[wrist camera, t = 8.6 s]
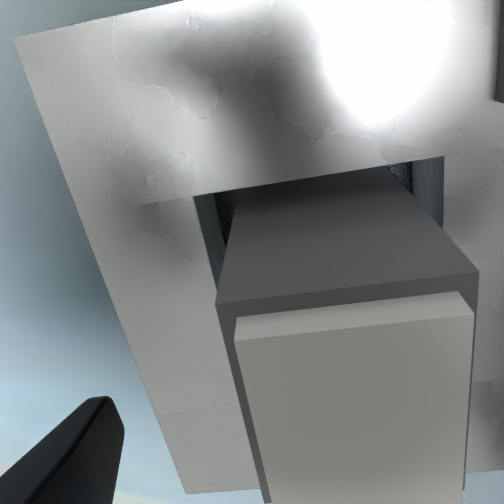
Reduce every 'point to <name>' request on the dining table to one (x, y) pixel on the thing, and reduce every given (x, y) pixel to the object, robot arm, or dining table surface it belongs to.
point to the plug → (349, 341)
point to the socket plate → (267, 169)
